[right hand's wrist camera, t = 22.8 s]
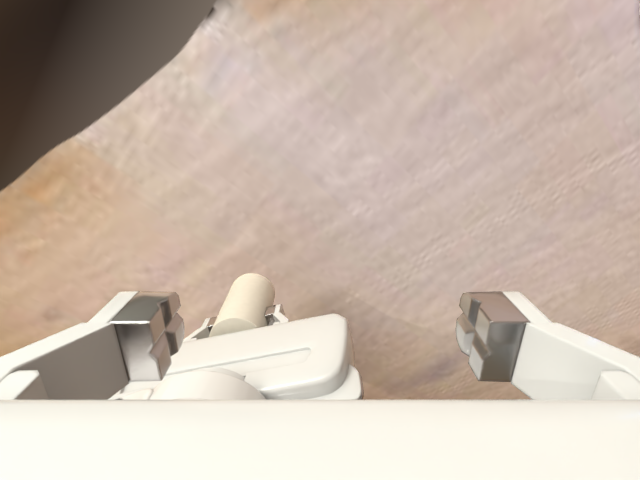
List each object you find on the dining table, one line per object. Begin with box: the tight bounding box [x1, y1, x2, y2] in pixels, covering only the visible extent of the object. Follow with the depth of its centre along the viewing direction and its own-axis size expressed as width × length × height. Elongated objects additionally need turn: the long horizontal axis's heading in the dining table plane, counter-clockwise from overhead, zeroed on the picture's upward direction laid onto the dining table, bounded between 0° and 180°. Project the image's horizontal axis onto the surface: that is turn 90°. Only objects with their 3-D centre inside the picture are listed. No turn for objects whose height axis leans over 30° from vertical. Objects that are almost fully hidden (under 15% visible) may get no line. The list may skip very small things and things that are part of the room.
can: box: [209, 273, 275, 337], centre depth 35 cm, size 5×5×8 cm
